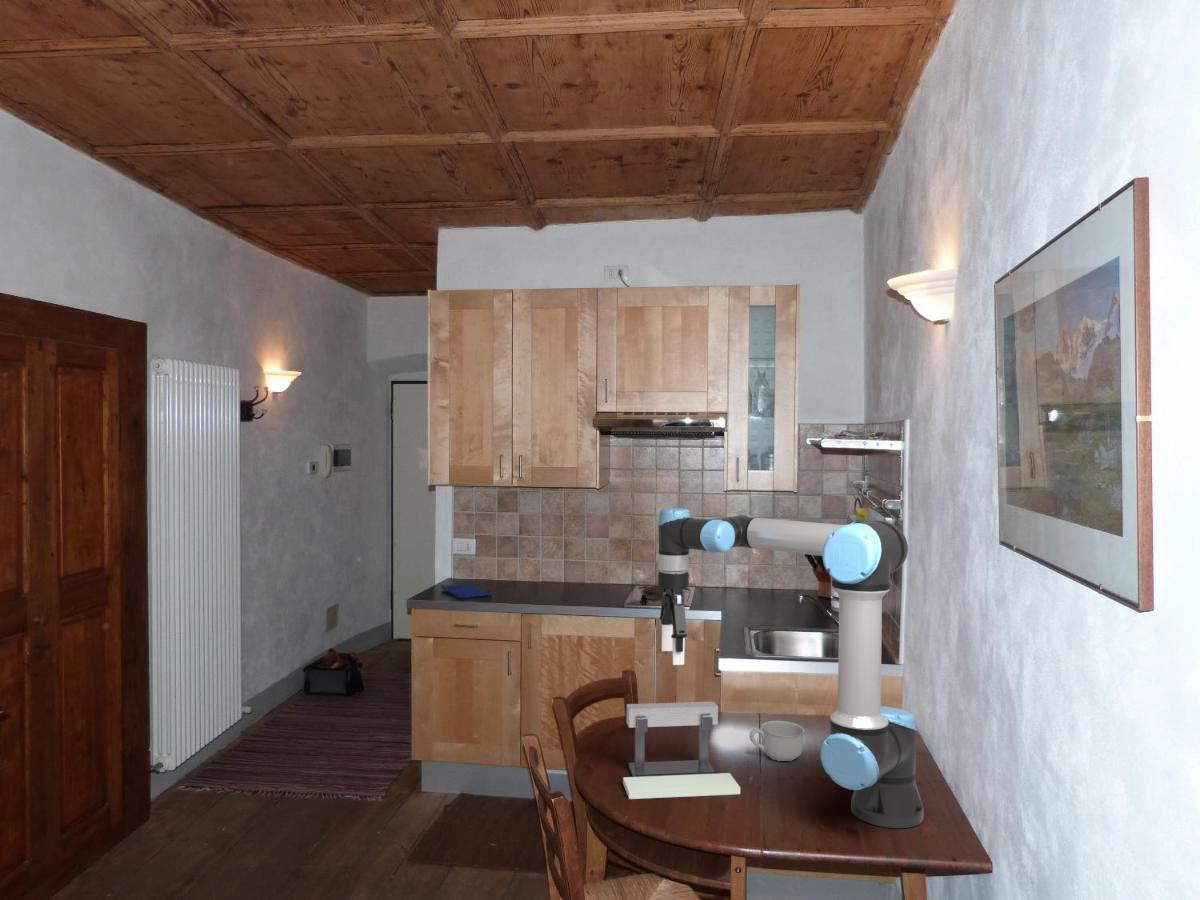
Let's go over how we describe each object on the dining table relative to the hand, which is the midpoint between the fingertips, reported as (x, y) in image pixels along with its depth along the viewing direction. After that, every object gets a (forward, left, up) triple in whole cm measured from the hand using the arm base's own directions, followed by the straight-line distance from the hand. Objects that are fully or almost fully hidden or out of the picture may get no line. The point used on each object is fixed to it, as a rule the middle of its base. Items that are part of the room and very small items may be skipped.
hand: (672, 657), depth 218 cm
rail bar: (0, 0, -16) cm, 16 cm away
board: (-11, 0, -28) cm, 30 cm away
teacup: (+7, -29, -29) cm, 41 cm away
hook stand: (0, 0, -28) cm, 28 cm away
